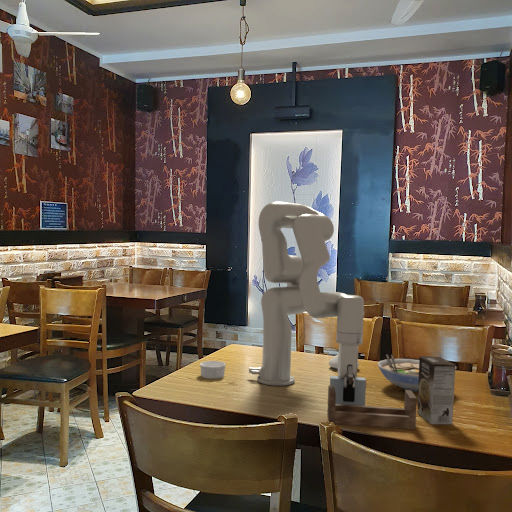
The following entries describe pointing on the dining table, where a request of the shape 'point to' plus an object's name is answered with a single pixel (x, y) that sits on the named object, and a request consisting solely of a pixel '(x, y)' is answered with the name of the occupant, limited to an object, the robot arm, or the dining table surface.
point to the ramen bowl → (401, 372)
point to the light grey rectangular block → (358, 385)
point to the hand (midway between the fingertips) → (347, 396)
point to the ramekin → (212, 369)
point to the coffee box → (436, 389)
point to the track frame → (373, 413)
